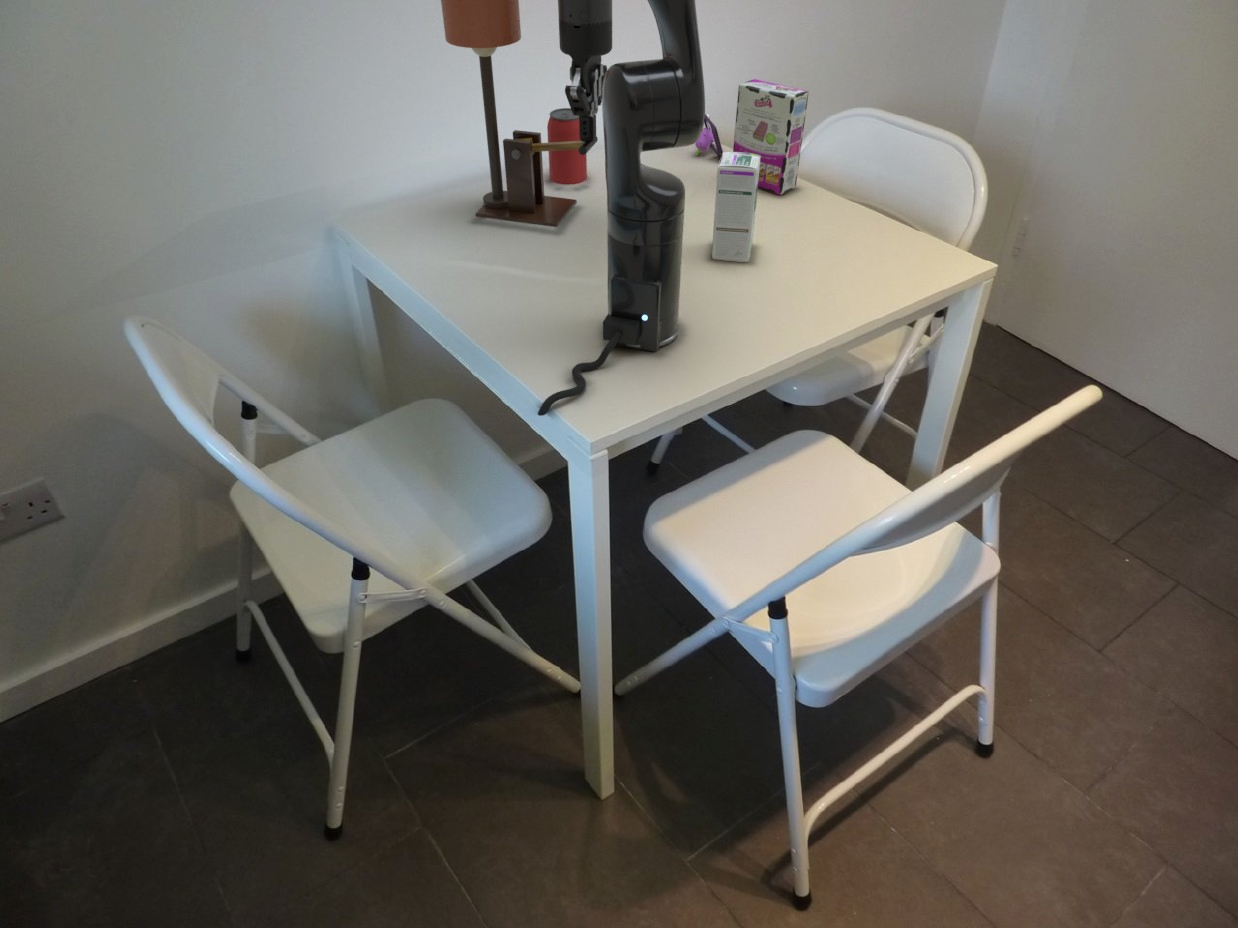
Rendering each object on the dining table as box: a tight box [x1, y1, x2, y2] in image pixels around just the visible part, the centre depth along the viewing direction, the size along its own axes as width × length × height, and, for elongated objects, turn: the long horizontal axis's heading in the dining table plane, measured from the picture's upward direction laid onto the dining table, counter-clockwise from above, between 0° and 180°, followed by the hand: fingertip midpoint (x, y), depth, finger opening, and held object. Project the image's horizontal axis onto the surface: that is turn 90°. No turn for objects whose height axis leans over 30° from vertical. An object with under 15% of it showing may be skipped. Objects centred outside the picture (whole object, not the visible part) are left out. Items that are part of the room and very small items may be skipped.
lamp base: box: [475, 129, 578, 228], centre depth 135 cm, size 14×10×13 cm
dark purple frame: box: [694, 113, 724, 159], centre depth 159 cm, size 7×5×9 cm
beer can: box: [546, 107, 588, 185], centre depth 146 cm, size 7×7×12 cm
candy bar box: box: [732, 78, 810, 196], centre depth 144 cm, size 11×5×16 cm, turn 48°
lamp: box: [440, 0, 522, 209], centre depth 129 cm, size 11×11×32 cm
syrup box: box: [711, 151, 760, 263], centre depth 124 cm, size 6×6×14 cm
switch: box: [515, 135, 599, 155], centre depth 130 cm, size 13×6×2 cm, turn 73°
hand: (588, 140), depth 128 cm, fingers closed
